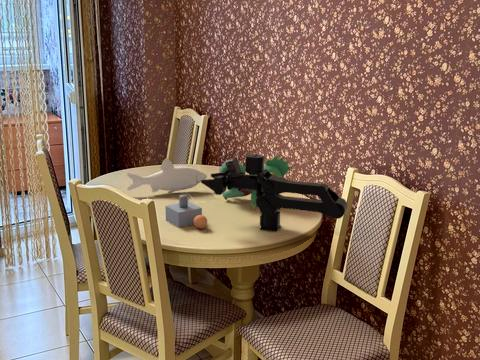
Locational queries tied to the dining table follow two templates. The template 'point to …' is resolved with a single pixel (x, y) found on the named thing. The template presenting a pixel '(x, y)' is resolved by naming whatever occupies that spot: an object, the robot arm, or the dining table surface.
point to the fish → (169, 178)
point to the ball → (200, 221)
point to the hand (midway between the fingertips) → (206, 178)
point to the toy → (274, 167)
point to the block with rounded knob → (182, 212)
